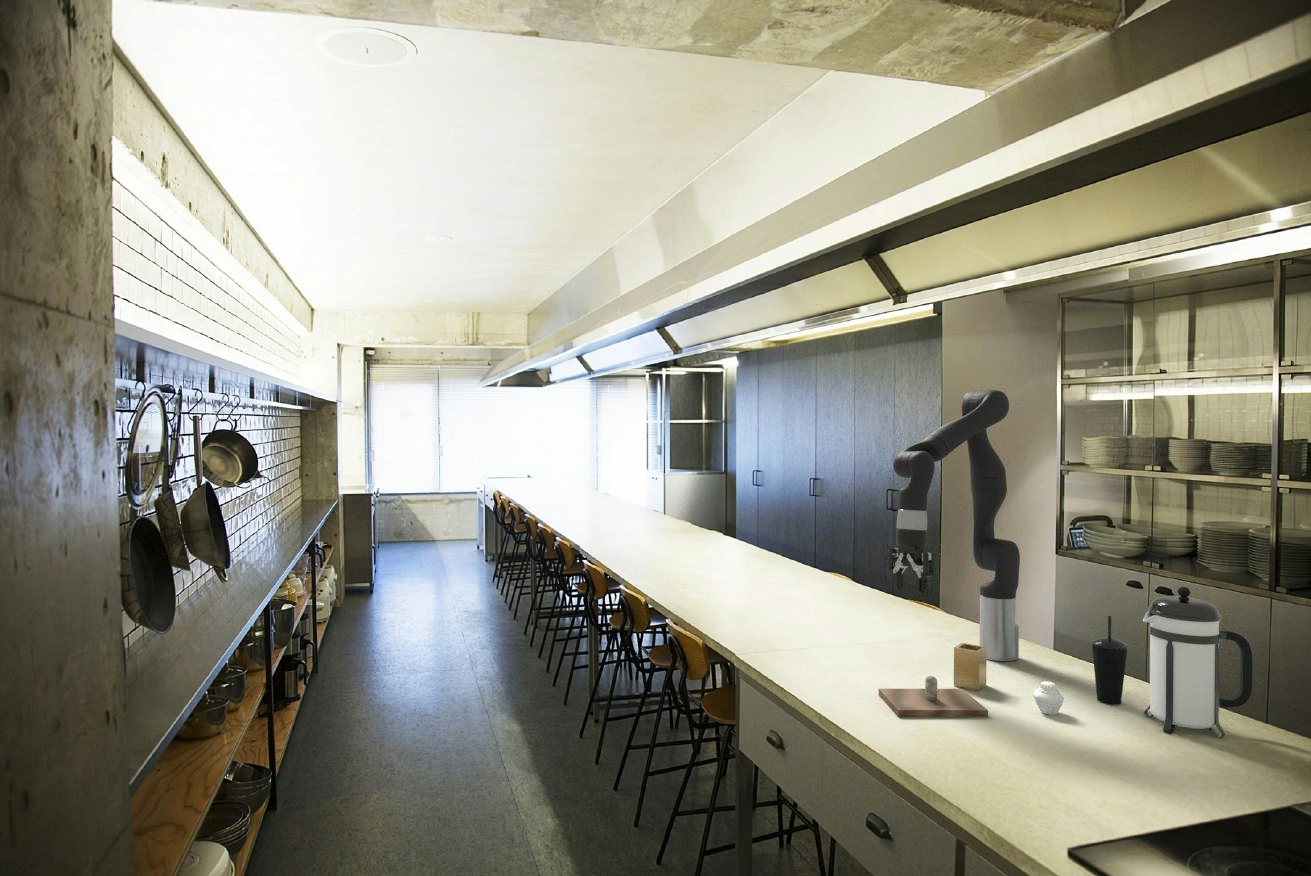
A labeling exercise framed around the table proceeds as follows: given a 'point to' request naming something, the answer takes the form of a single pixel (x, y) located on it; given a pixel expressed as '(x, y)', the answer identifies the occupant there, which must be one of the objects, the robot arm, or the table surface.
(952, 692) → the post board
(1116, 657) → the drinking cup
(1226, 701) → the coffee press
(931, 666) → the table surface
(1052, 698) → the muffin
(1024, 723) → the table surface
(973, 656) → the wooden sleeve
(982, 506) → the robot arm
